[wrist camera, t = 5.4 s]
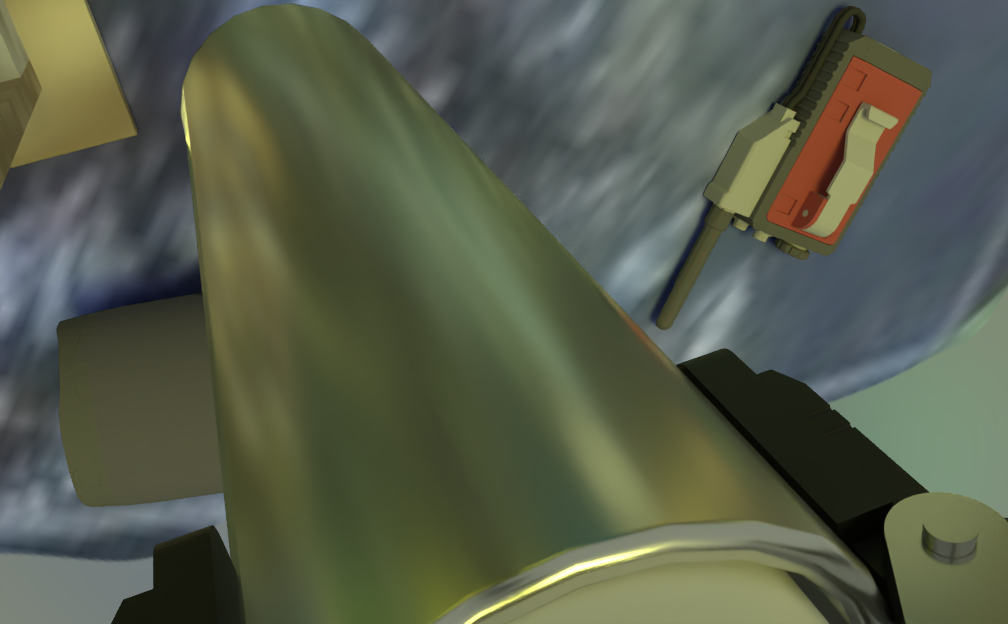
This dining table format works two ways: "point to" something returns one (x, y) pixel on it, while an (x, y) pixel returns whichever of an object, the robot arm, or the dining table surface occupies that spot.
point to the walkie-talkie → (811, 152)
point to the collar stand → (55, 83)
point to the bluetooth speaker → (139, 403)
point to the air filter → (451, 380)
